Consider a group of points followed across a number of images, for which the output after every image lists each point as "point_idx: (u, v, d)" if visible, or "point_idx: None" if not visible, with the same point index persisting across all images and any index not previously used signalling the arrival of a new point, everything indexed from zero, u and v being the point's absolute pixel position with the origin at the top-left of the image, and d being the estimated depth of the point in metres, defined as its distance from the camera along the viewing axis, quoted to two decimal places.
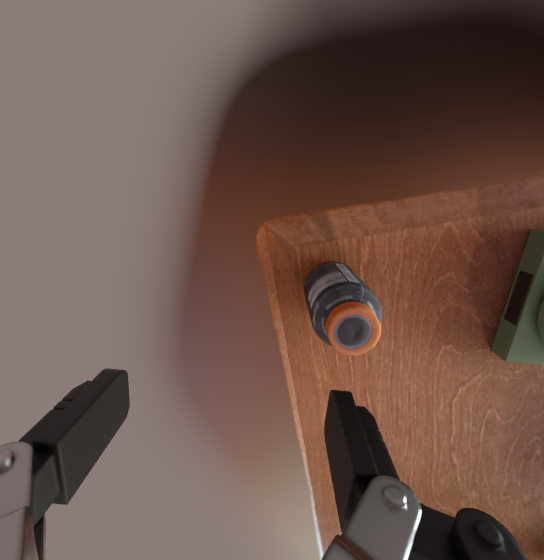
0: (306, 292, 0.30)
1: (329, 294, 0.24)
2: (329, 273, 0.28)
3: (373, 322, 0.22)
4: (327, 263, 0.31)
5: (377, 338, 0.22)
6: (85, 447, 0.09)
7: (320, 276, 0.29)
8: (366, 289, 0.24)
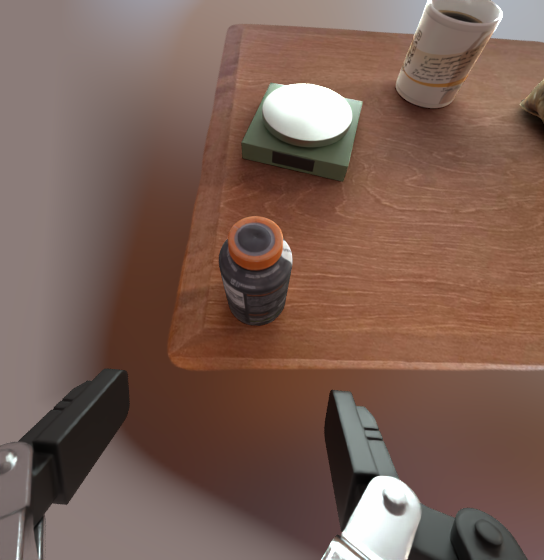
0: (245, 314, 0.27)
1: (223, 267, 0.23)
2: None
3: (248, 220, 0.22)
4: None
5: (266, 219, 0.22)
6: (85, 447, 0.09)
7: (226, 294, 0.27)
8: None
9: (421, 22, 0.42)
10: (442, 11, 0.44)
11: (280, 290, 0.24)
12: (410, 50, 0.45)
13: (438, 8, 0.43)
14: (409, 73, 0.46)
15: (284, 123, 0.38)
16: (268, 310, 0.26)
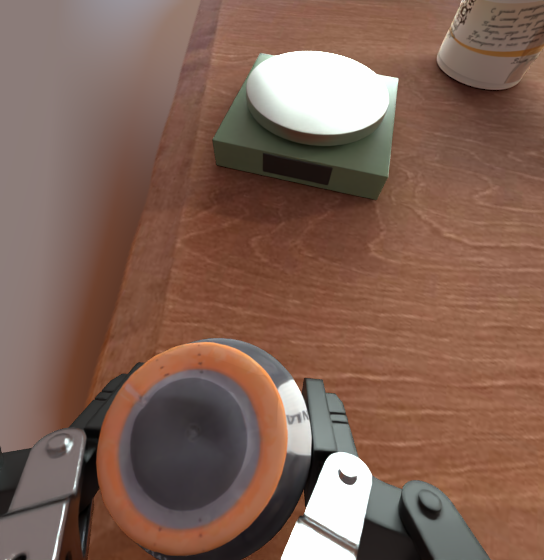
0: None
1: None
2: None
3: (175, 362, 0.07)
4: None
5: (235, 355, 0.07)
6: None
7: None
8: None
9: None
10: None
11: None
12: (465, 4, 0.30)
13: None
14: (463, 38, 0.31)
15: (281, 108, 0.23)
16: None
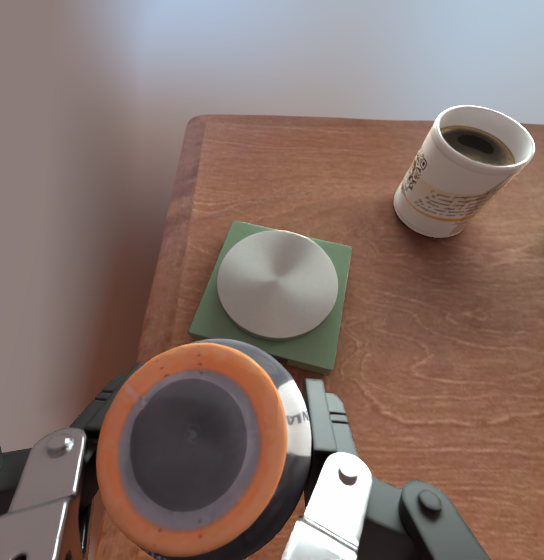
0: None
1: None
2: None
3: (175, 363, 0.07)
4: None
5: (235, 355, 0.07)
6: None
7: None
8: None
9: (426, 149, 0.32)
10: (452, 127, 0.34)
11: None
12: (411, 174, 0.35)
13: (446, 124, 0.34)
14: (411, 200, 0.36)
15: (245, 306, 0.28)
16: None
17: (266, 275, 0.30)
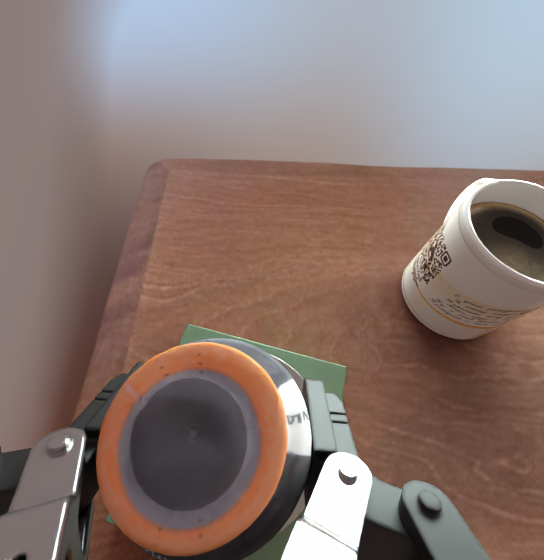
0: None
1: None
2: None
3: (175, 362, 0.07)
4: None
5: (235, 355, 0.07)
6: None
7: None
8: None
9: (450, 240, 0.23)
10: (483, 205, 0.25)
11: None
12: (428, 264, 0.26)
13: (476, 201, 0.25)
14: (426, 296, 0.27)
15: None
16: None
17: None
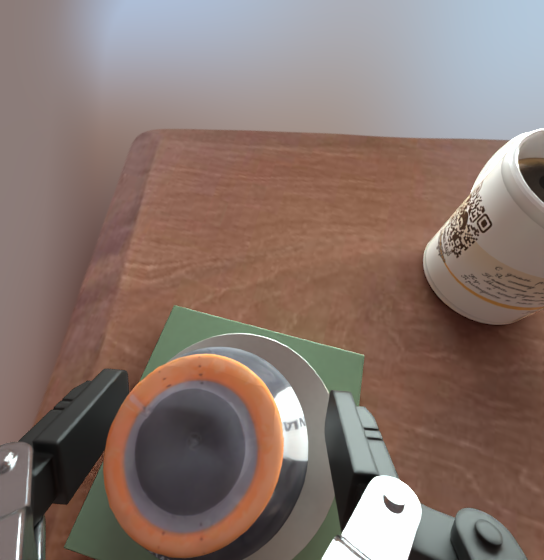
0: None
1: None
2: None
3: (177, 374, 0.07)
4: None
5: (234, 366, 0.07)
6: (85, 447, 0.09)
7: None
8: None
9: (490, 200, 0.19)
10: (526, 162, 0.21)
11: None
12: (459, 233, 0.22)
13: (519, 157, 0.21)
14: (456, 272, 0.23)
15: None
16: None
17: None
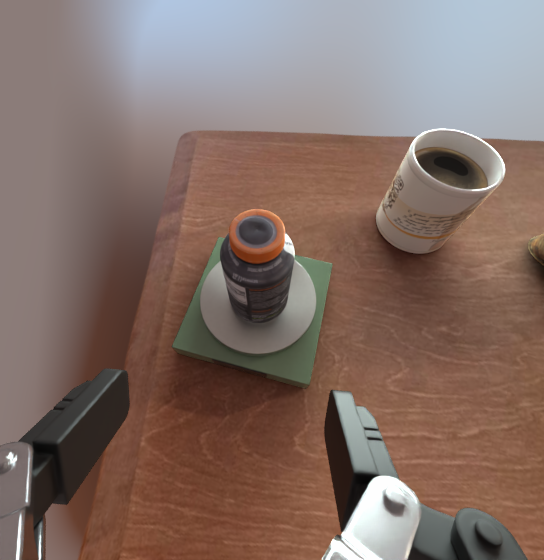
0: (248, 311, 0.27)
1: (224, 262, 0.22)
2: None
3: (249, 213, 0.22)
4: None
5: (268, 212, 0.22)
6: (85, 447, 0.09)
7: (228, 291, 0.26)
8: None
9: (402, 170, 0.33)
10: (429, 149, 0.35)
11: (283, 285, 0.24)
12: (391, 193, 0.36)
13: (424, 146, 0.35)
14: (391, 218, 0.37)
15: (226, 322, 0.29)
16: (271, 306, 0.26)
17: None
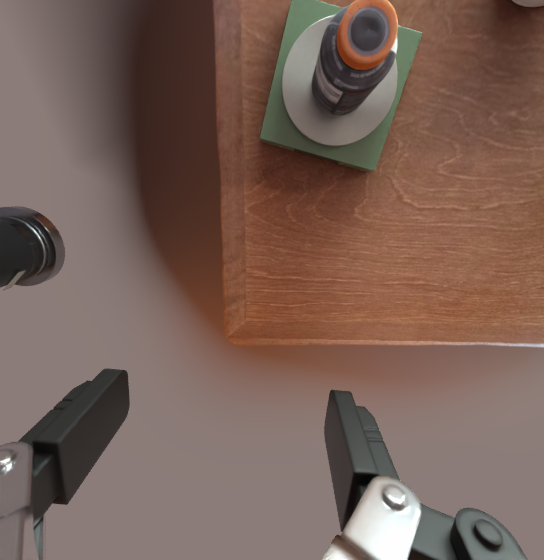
0: (334, 107, 0.29)
1: (327, 64, 0.23)
2: (315, 73, 0.27)
3: (362, 3, 0.20)
4: (312, 83, 0.30)
5: (383, 0, 0.20)
6: (85, 447, 0.09)
7: (318, 86, 0.28)
8: (331, 19, 0.23)
9: None
10: None
11: None
12: None
13: None
14: None
15: (308, 115, 0.32)
16: (357, 103, 0.28)
17: None
